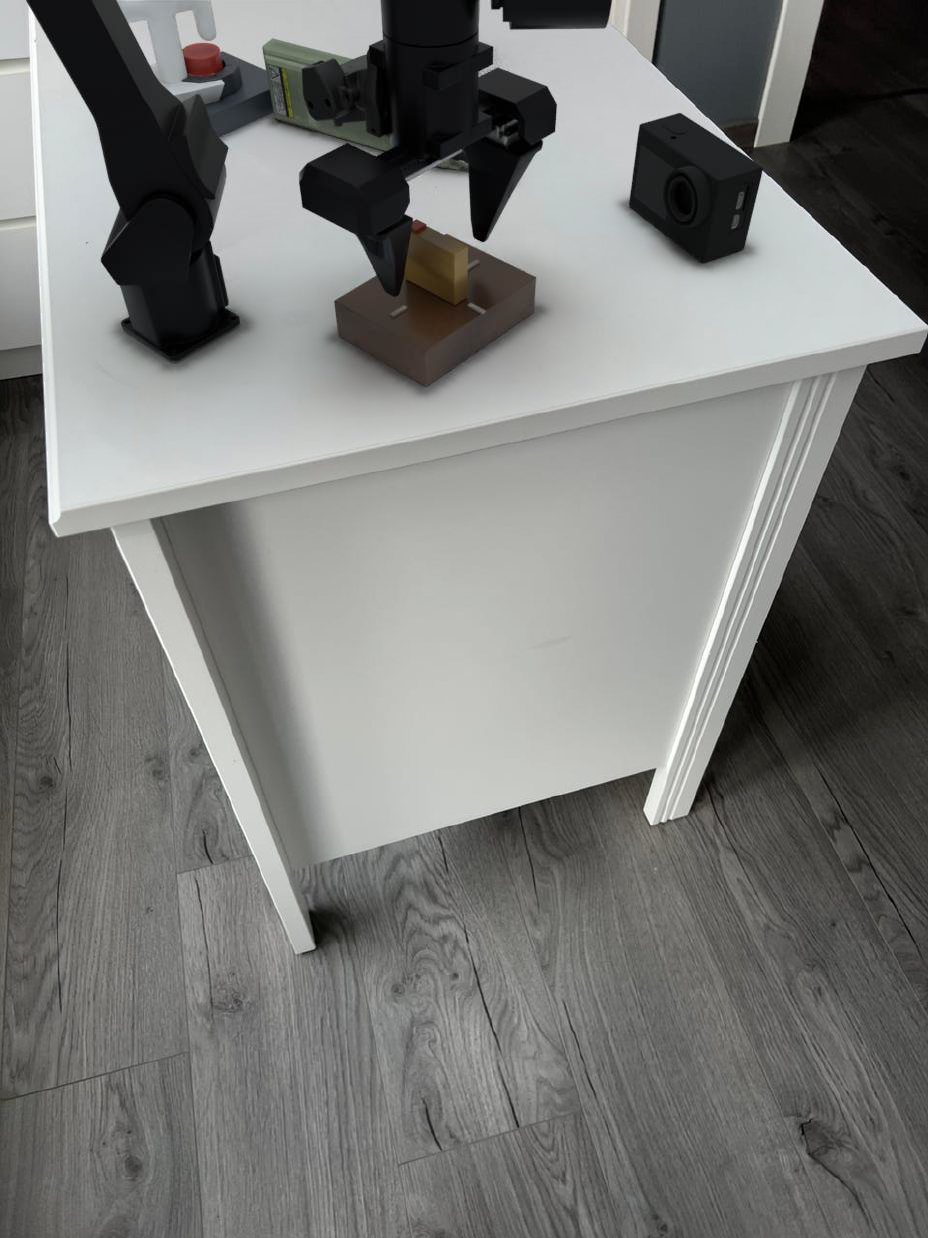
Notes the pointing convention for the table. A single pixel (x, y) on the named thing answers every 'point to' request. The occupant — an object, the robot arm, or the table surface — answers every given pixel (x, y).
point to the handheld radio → (290, 103)
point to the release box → (237, 94)
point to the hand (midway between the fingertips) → (437, 265)
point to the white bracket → (174, 42)
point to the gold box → (437, 263)
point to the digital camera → (694, 186)
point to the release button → (202, 59)
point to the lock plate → (436, 317)
